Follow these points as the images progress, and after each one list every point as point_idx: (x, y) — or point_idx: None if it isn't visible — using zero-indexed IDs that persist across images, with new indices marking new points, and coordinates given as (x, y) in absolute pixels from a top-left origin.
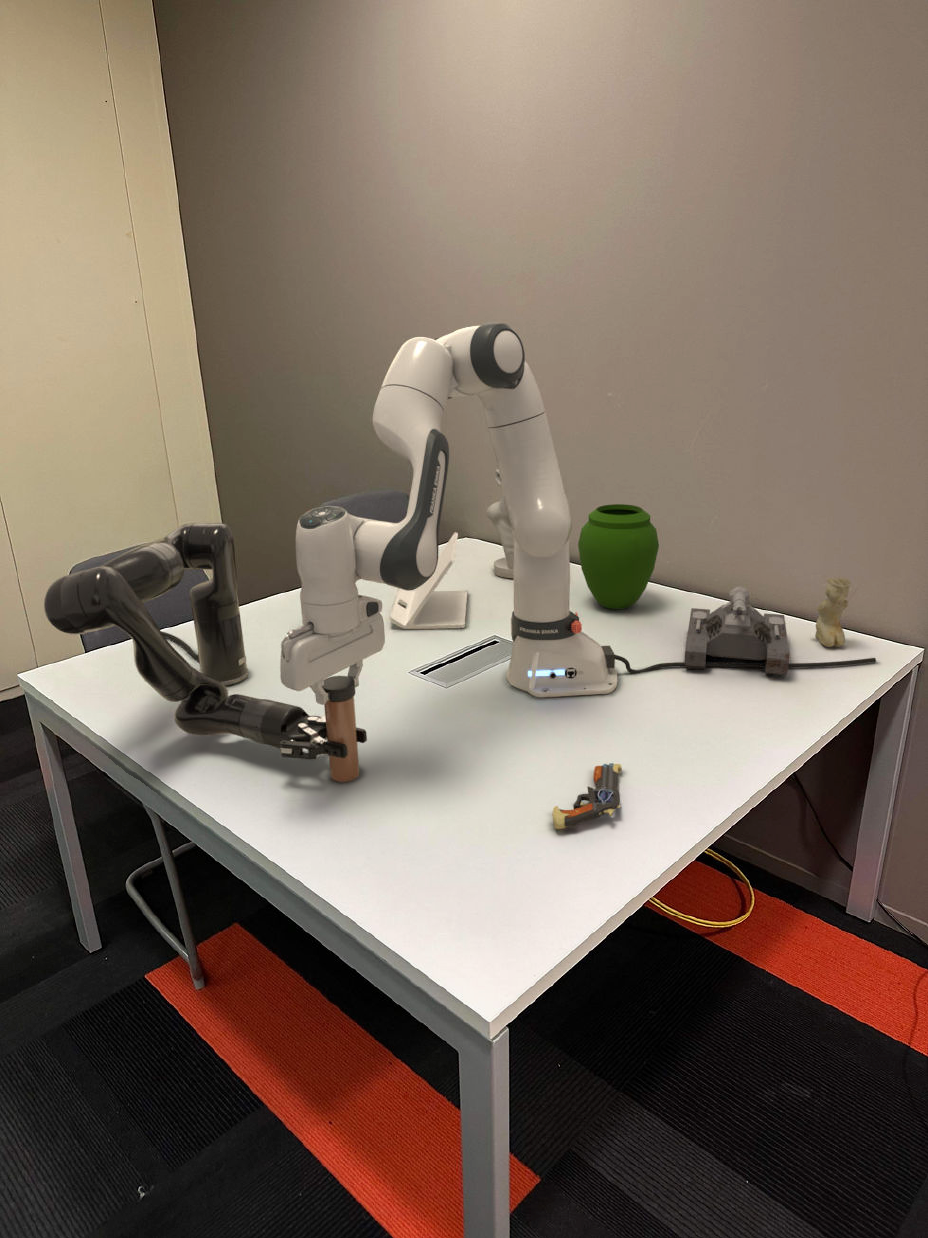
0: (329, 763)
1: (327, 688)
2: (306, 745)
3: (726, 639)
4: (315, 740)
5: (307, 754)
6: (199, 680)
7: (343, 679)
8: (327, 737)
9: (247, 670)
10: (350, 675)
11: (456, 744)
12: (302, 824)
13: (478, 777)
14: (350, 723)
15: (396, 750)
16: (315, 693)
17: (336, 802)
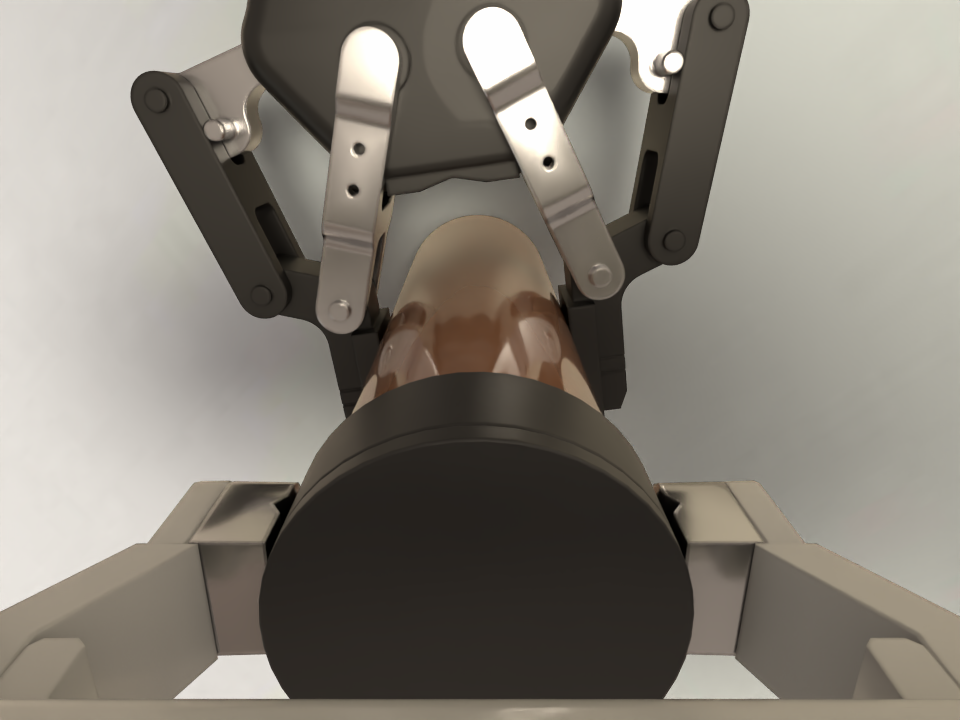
0: (415, 260)
1: (279, 640)
2: (234, 275)
3: None
4: (320, 272)
5: (274, 240)
6: None
7: (590, 627)
8: (392, 314)
9: None
10: (759, 586)
11: (925, 511)
12: (107, 397)
13: (725, 688)
14: None
15: (773, 335)
16: (154, 540)
17: (297, 401)
